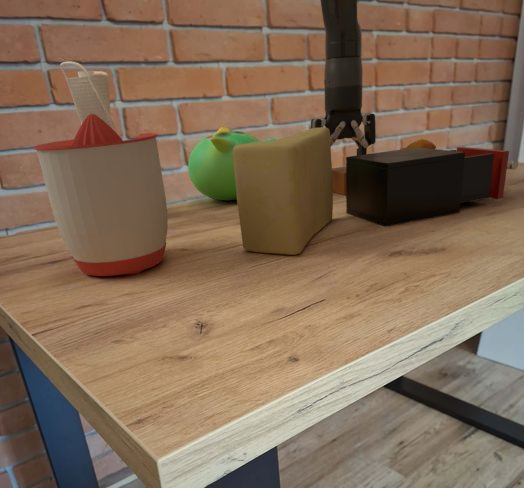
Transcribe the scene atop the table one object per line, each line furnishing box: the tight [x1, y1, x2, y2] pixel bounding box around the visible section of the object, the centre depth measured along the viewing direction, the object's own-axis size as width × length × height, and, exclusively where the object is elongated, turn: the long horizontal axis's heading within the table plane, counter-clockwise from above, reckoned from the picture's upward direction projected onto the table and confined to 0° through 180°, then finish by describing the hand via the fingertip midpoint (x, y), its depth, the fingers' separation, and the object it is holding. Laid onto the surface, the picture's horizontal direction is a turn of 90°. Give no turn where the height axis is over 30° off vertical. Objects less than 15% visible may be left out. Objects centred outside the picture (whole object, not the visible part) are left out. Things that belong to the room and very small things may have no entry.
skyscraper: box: [59, 61, 118, 134], centre depth 95 cm, size 8×8×28 cm
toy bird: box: [187, 126, 282, 201], centre depth 109 cm, size 18×17×15 cm
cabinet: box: [345, 147, 465, 227], centre depth 87 cm, size 15×13×10 cm
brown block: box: [332, 166, 346, 196], centre depth 110 cm, size 4×8×4 cm, turn 22°
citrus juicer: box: [33, 114, 168, 277], centre depth 70 cm, size 16×17×20 cm
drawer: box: [448, 146, 519, 204], centre depth 91 cm, size 18×11×8 cm, turn 112°
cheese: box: [233, 126, 334, 256], centre depth 78 cm, size 22×10×15 cm, turn 151°
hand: (343, 169), depth 109 cm, fingers open, 8 cm apart
